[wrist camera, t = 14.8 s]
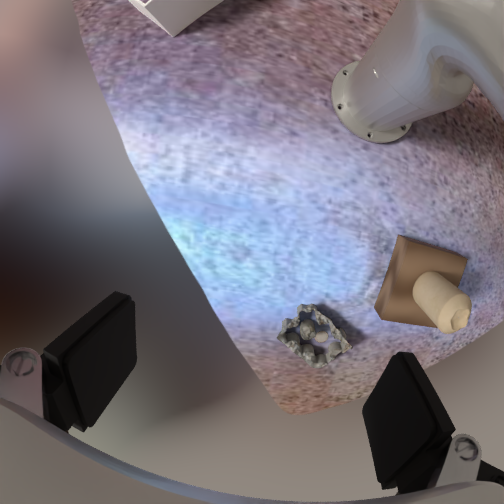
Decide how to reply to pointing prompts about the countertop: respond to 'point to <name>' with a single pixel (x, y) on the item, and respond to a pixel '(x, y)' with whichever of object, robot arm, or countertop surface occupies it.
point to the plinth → (414, 279)
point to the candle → (442, 302)
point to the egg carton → (309, 332)
